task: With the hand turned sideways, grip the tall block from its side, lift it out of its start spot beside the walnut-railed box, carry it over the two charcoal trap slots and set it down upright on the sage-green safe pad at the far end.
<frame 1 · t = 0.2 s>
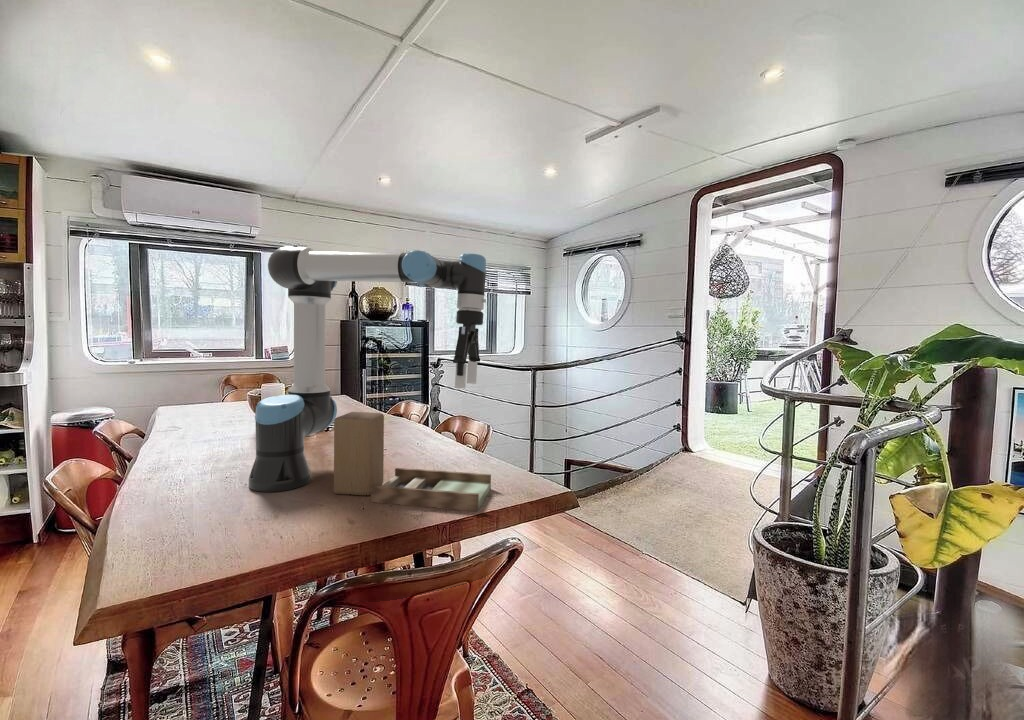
hand: (466, 385, 130), 27 cm above the table, tool pointing down, fingers open, 13 cm apart
block: (359, 490, 122), on the table
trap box: (433, 495, 119), on the table
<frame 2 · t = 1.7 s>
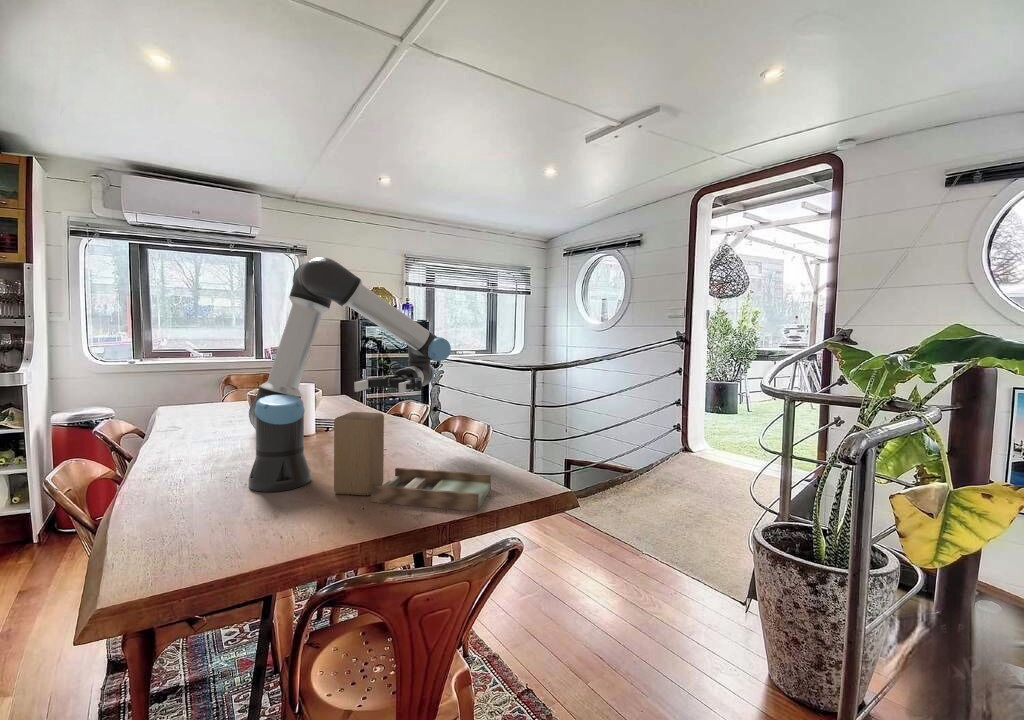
hand: (377, 387, 130), 26 cm above the table, tool horizontal, fingers open, 13 cm apart
nothing on the table moved.
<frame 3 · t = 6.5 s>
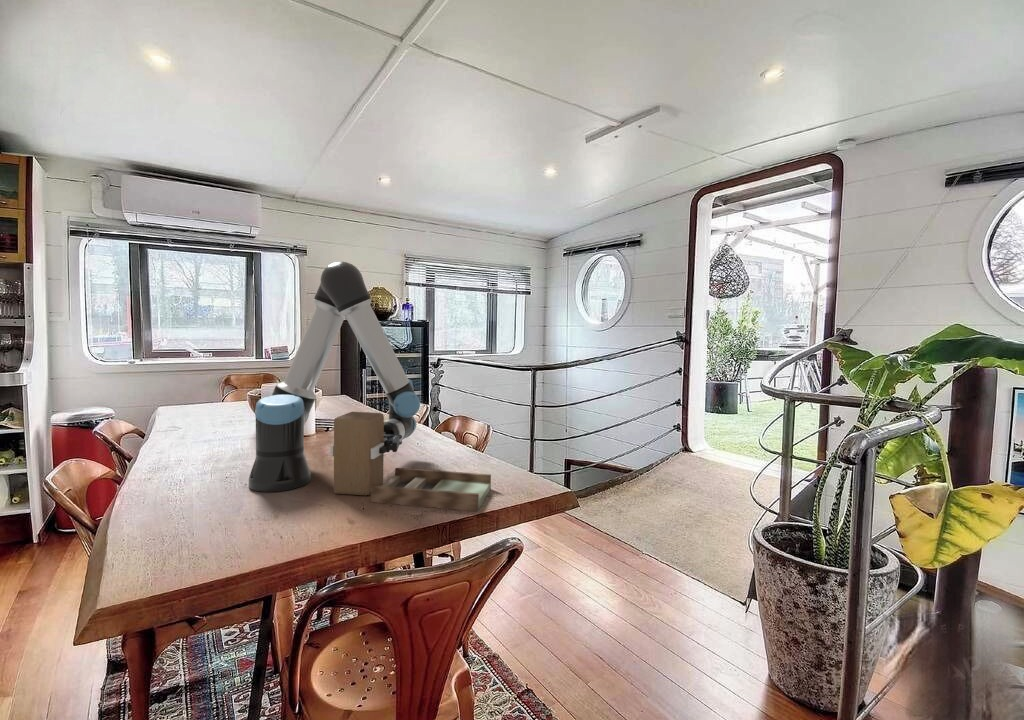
hand: (351, 452, 117), 11 cm above the table, tool horizontal, fingers closed on block, 10 cm apart
block: (359, 490, 122), on the table, touching gripper
when the fingers open (14 cm above the table, at t = 14.0 s): block drops 1 cm, resting on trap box.
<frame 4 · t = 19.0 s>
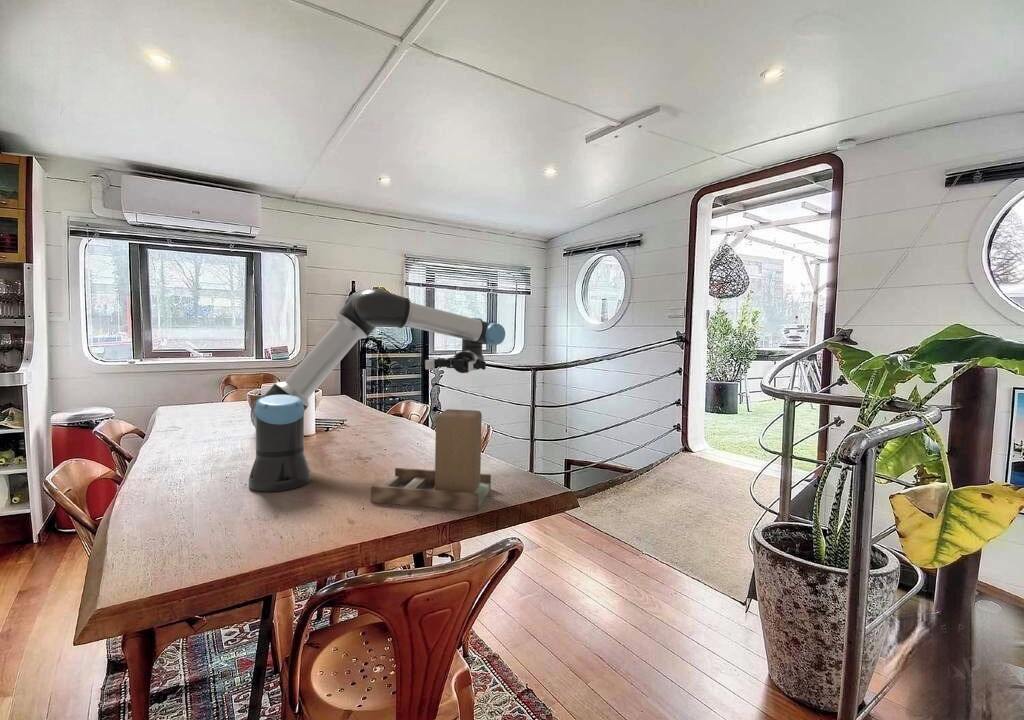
hand: (447, 365, 140), 32 cm above the table, tool horizontal, fingers open, 13 cm apart
block: (458, 490, 118), point 2 cm above the table, touching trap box
at the end: block inside the target area on the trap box (0.2 cm from its centre), point 1.8 cm above the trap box's base; block tilted 0°; the gripper is holding nothing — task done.
